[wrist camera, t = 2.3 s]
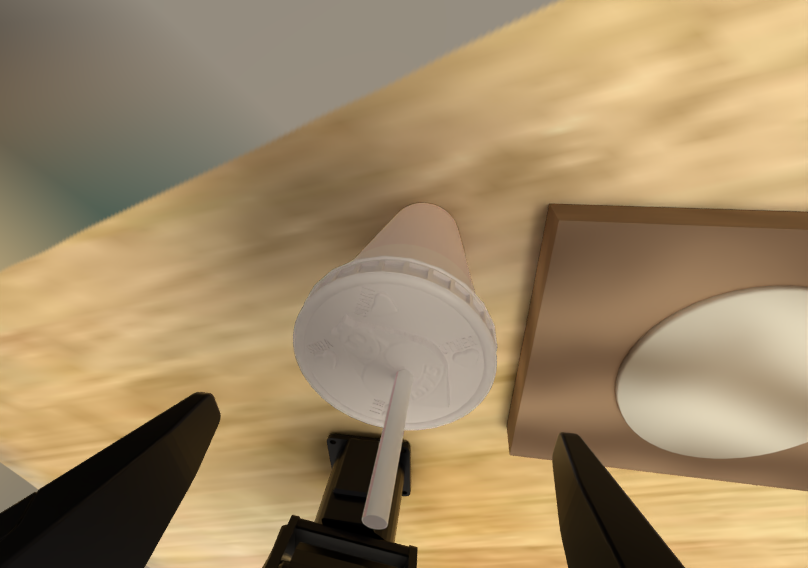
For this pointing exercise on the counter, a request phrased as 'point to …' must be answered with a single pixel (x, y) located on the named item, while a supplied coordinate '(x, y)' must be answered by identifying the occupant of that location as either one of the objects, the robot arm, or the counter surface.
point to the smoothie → (399, 338)
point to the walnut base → (670, 342)
